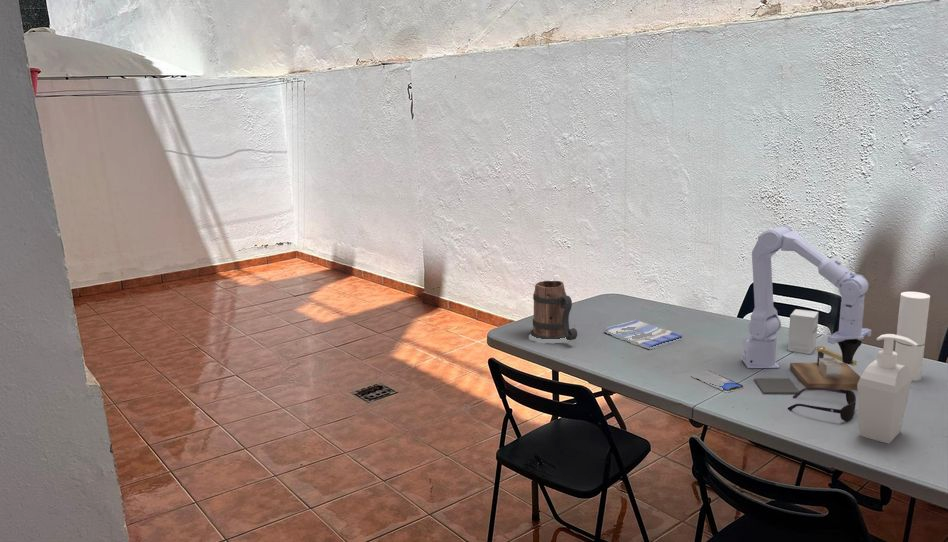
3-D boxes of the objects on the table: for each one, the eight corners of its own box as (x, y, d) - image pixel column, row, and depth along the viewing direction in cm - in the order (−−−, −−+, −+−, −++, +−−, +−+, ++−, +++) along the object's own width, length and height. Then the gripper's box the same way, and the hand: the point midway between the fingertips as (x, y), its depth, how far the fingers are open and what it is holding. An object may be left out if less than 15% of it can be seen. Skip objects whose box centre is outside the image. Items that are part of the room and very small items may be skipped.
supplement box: (811, 354, 225) (814, 317, 222) (787, 350, 229) (789, 314, 226) (816, 347, 231) (819, 311, 228) (792, 344, 235) (795, 308, 232)
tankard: (518, 334, 258) (517, 282, 253) (556, 325, 266) (555, 275, 261) (554, 353, 238) (553, 296, 233) (594, 343, 245) (594, 288, 241)
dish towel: (637, 324, 264) (637, 317, 263) (684, 341, 244) (684, 333, 244) (602, 334, 256) (601, 327, 255) (648, 352, 236) (648, 344, 235)
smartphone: (707, 371, 216) (707, 368, 216) (745, 388, 203) (745, 385, 203) (688, 377, 213) (689, 374, 213) (726, 394, 200) (726, 391, 200)
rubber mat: (763, 394, 198) (763, 392, 198) (753, 380, 208) (754, 378, 208) (800, 394, 197) (800, 392, 197) (789, 380, 206) (789, 378, 206)
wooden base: (807, 389, 199) (809, 370, 198) (789, 368, 215) (791, 350, 213) (867, 390, 197) (868, 370, 196) (844, 368, 213) (846, 349, 211)
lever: (815, 350, 211) (815, 347, 211) (821, 349, 212) (821, 346, 211) (851, 366, 198) (851, 362, 198) (857, 364, 199) (858, 361, 199)
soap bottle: (898, 450, 165) (909, 347, 158) (852, 437, 172) (861, 338, 166) (914, 432, 173) (925, 333, 166) (870, 420, 180) (879, 325, 174)
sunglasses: (852, 426, 178) (853, 408, 176) (785, 414, 186) (786, 397, 185) (856, 406, 189) (858, 389, 188) (793, 395, 197) (794, 379, 196)
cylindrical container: (919, 373, 207) (928, 292, 201) (922, 382, 200) (931, 299, 194) (891, 370, 210) (899, 290, 204) (893, 379, 203) (902, 297, 197)
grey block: (825, 378, 202) (826, 365, 201) (818, 370, 207) (819, 358, 206) (840, 378, 201) (841, 365, 200) (832, 370, 207) (833, 358, 206)
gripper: (843, 326, 191) (839, 372, 194) (882, 318, 196) (877, 363, 199) (822, 319, 197) (819, 363, 200) (860, 311, 202) (856, 355, 205)
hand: (847, 363), depth 200 cm, fingers closed, pressing on lever
